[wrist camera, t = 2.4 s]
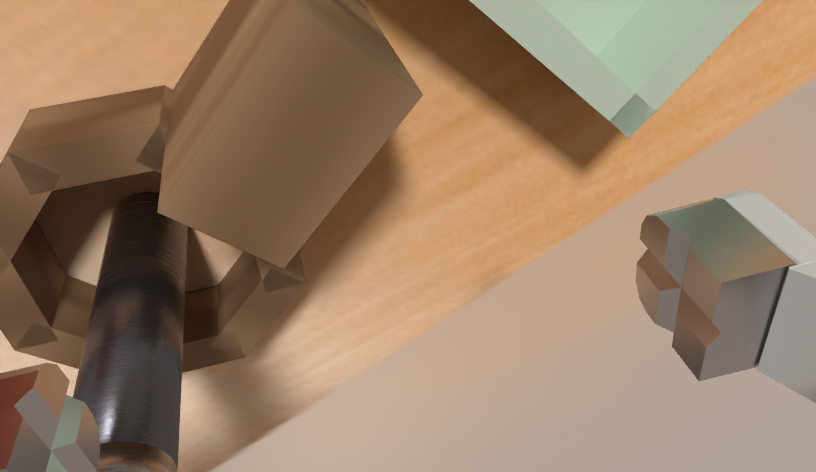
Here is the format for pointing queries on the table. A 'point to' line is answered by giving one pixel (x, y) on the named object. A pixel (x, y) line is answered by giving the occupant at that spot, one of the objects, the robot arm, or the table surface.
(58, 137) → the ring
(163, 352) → the dark grey metal cylinder
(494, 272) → the table surface
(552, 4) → the tray
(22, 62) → the table surface
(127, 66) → the table surface
